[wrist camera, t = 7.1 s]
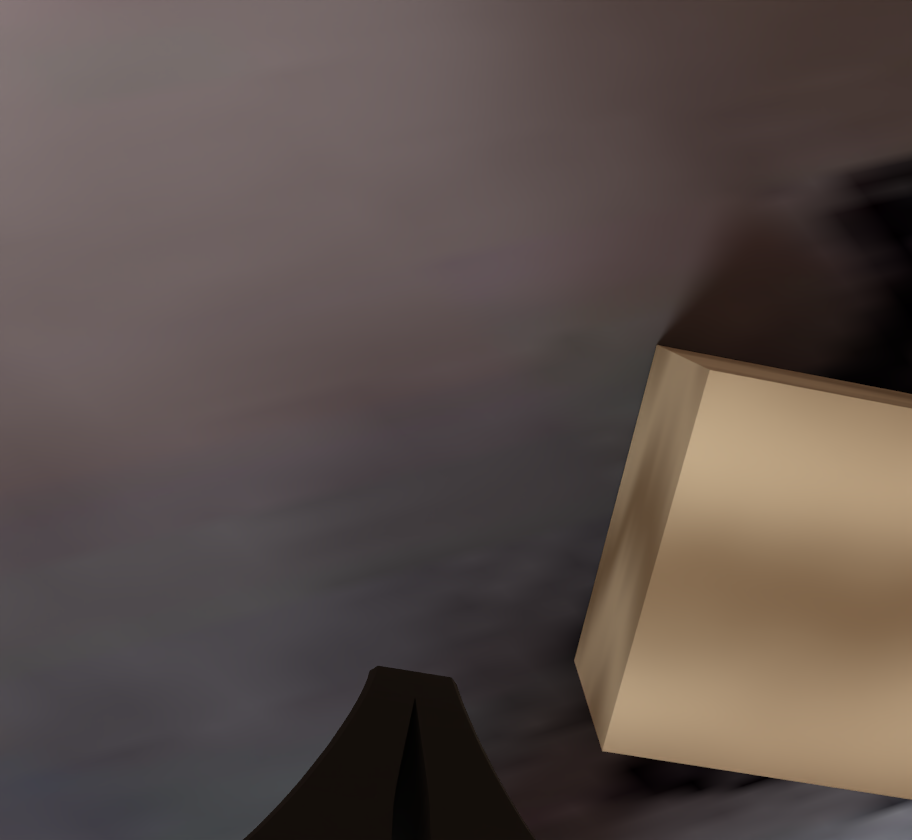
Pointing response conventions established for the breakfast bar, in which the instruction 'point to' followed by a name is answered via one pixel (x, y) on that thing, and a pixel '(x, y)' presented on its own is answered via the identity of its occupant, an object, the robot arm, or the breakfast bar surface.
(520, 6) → the breakfast bar surface
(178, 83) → the breakfast bar surface
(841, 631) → the beige bevelled block
